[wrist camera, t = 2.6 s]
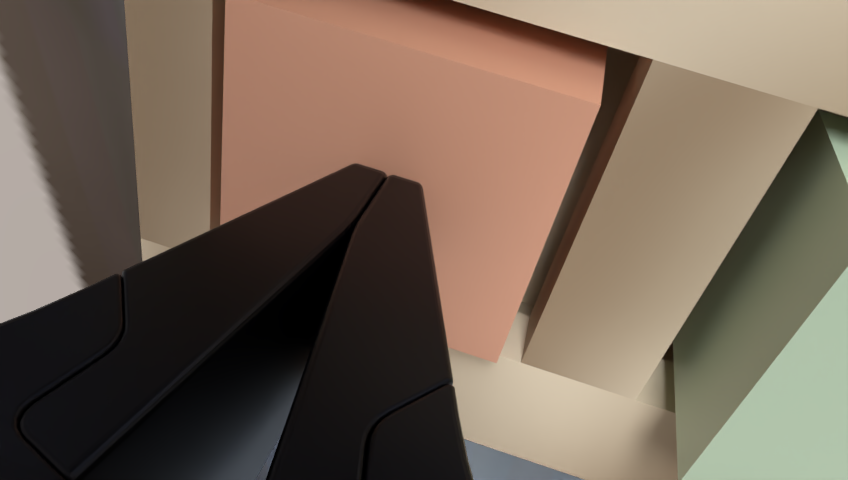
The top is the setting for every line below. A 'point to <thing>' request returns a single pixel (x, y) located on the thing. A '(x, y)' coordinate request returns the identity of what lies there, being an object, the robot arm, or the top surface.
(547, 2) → the wooden slotted block
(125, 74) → the top surface
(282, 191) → the key terracotta
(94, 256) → the top surface
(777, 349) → the key sage
